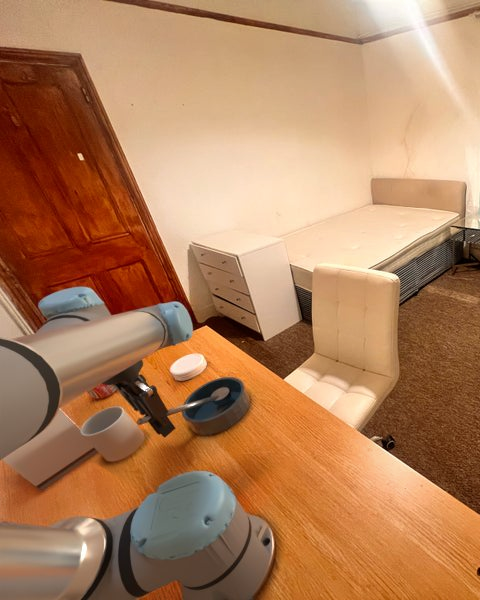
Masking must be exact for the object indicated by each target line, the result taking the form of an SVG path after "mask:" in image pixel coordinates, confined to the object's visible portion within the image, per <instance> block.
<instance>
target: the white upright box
mask: <svg viewBox="0 0 480 600" xmlns="http://www.w3.org/2000/svg"><path fill="white" fill-rule="evenodd" d="M80 430H81V427H79V426H78V425H77V424H76V423H75V422H74V421H73V420H72V419H71V418H70V417H69V416H68V415H67V414H66V413H65V411H63V409H62V408H59V411H58V413H57V414H56V416H55V418H54V419H53V421H52V422H51V423H50V424H49V426H48V427H47V428H46V429H45V430H43V431H42V432H41V433H40V434H39V435H37V436H36V437H35V438H33V439H32V440H30V441H29V442H27V443H26V444H24V445H23V446H21V447H19V448H18V449H16V450H15V451H14V452H12V453H11V454H9V455H8V456H6V457H5V458H3V459H1V460H0V461H2V462H3V463H4V464H6V465H7V466H9V467H10V468H11V469H12V470H14V471H15V472H16V473H18V474H19V475H20V476H21V477H23V478H24V479H25V480H26V481H28V482H29V483H30V484H32V485H33V486H34V487H36V488H37V489H38V490H40V491H41V492H43V491H44V490H46V489H48V487H50V486H52V485H53V484H55V483H56V482H57V481H60V480H61V479H62V478H63V477H65V476H66V475H68V474H69V473H71V472H72V471H73V470H75V469H76V468H78V467H80V466H81V465H82V464H83V463H85V462H87V461H88V460H89V459H91V458H93V457H94V456H95V455H96V454H99V452H98V451H97V450H96V449H95V448H94V447H93V446H92V445H91V444H90V443H89V442H88V441H87V440H86V439H85V438H84V437H83V436H82V435H81V433H80Z"/></svg>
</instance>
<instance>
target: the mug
mask: <svg viewBox="0 0 480 600" xmlns="http://www.w3.org/2000/svg"><path fill="white" fill-rule="evenodd" d="M80 429H81V430H80V433H81V435H82V436H83V437H84V438H85V439H86V440H87V441H88V442H89V443H90V444H91V445H92V446H93V447H94V448H95V449H96V450H97V451H98V454H100V456H102V458H103V459H104V460H105V461H107V462H110V463H113V462H118V461H121V460H123V459H126V458H128V457H129V456H131V455H132V454H134V453H135V452H136V451H137V450H138V449H139V448H140V447H141V446H142V445H143V443H144V441H145V439H146V436H145V433H144V432H143V431H142V430H141V428H140V427H139V426H138V424H137V423H136V422H135V421H134V420H133V418H132V417H131V416H130V415H129V414H128V413H127V411H126V410H125V408H123V407H122V406H115V405H114V406H110V407H107V408H104V409H102V410H100V411H98V412H96V413H94V414H93V415H91V416H90V417H88V419H86V420H85V421H84V422H83V424H82V425H81V426H80Z"/></svg>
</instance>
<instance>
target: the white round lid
mask: <svg viewBox="0 0 480 600" xmlns="http://www.w3.org/2000/svg"><path fill="white" fill-rule="evenodd" d="M207 366H208V362H207V360H206V358H205V357H204V355H203V354H201V353H190V354H186V355H184V356H182V357H180V358H178V359H177V360H175V361H174V362H173V363H172V365H171V366H170V368H169V372H170V374H171V376H172V377H173V379H174V380H176V381H178V382H184V381H189V380H191V379H194V378H196V377H197V376H199V374H201V373H202V372H204V371H205V370H206V368H207Z"/></svg>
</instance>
